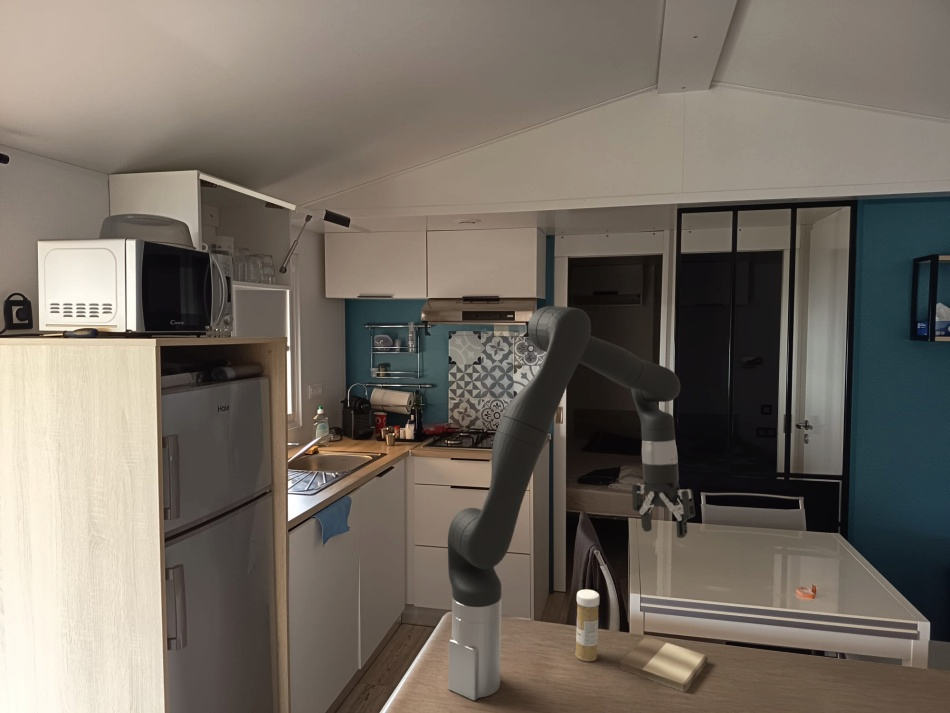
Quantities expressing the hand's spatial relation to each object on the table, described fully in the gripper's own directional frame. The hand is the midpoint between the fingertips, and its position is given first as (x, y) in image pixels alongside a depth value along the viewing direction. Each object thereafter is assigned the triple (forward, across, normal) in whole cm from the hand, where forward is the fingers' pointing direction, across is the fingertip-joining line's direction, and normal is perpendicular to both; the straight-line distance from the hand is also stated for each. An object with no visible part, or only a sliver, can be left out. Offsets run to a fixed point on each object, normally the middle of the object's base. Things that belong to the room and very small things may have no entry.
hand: (664, 533), depth 145 cm
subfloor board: (+23, +6, -12) cm, 27 cm away
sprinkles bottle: (+22, -6, -21) cm, 31 cm away
